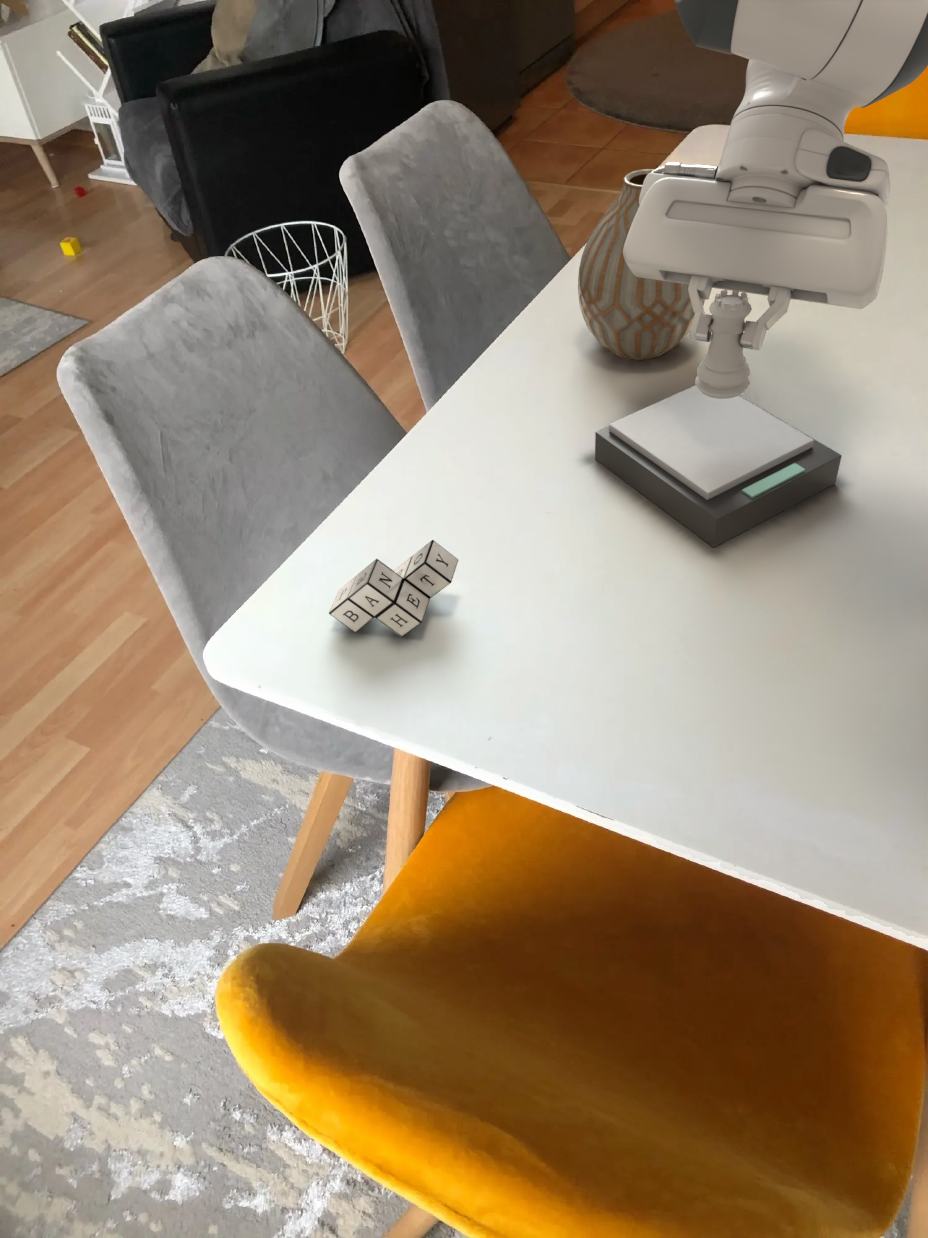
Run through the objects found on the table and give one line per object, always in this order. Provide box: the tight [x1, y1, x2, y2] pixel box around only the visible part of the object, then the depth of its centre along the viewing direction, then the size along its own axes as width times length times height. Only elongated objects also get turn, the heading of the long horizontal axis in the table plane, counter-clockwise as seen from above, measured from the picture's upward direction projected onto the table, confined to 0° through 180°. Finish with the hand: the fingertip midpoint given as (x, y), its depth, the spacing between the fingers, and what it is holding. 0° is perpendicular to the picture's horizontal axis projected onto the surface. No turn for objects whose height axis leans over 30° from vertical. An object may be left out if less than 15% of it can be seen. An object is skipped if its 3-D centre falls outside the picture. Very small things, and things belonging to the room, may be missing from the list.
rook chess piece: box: [694, 289, 753, 399], centre depth 78 cm, size 4×4×8 cm
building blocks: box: [328, 539, 459, 638], centre depth 75 cm, size 5×5×8 cm
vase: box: [577, 168, 706, 361], centre depth 97 cm, size 13×13×18 cm
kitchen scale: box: [594, 384, 843, 548], centre depth 85 cm, size 16×14×4 cm
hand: (724, 343), depth 77 cm, fingers closed on rook chess piece, 3 cm apart
